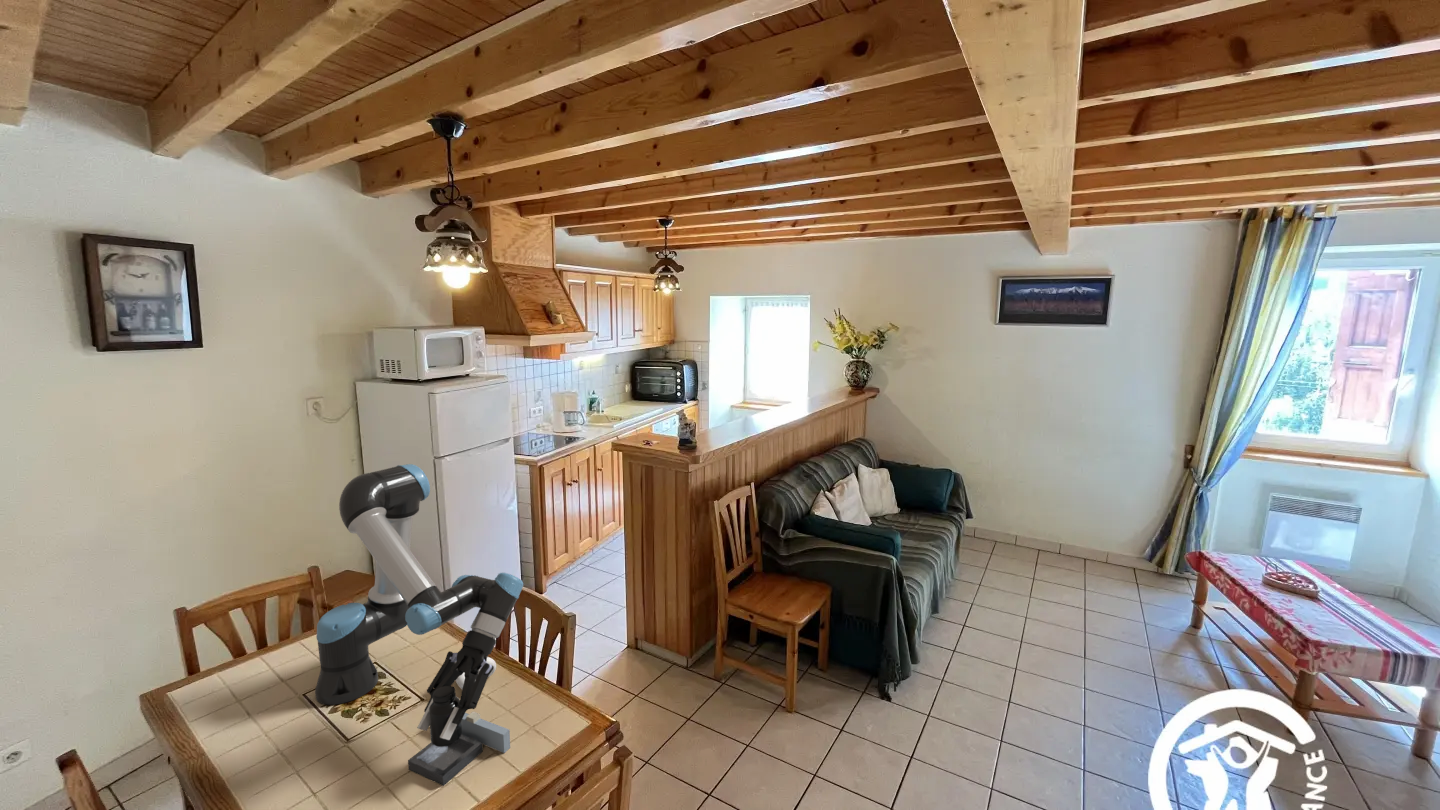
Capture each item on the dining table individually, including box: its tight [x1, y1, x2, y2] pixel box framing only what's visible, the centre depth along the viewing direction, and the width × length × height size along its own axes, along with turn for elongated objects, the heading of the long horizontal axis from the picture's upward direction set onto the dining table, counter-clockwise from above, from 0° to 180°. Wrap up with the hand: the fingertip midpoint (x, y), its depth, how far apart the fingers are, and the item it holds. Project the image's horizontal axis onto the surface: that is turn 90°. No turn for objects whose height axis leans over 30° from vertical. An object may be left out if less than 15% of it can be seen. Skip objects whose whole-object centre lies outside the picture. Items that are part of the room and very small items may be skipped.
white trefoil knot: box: [455, 656, 497, 690], centre depth 165 cm, size 11×12×9 cm
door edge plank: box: [462, 710, 511, 754], centre depth 143 cm, size 22×2×6 cm, turn 66°
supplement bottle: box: [429, 685, 462, 747], centre depth 134 cm, size 7×7×12 cm
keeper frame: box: [407, 734, 484, 787], centre depth 136 cm, size 12×12×2 cm
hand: (433, 733), depth 131 cm, fingers closed on supplement bottle, 7 cm apart
